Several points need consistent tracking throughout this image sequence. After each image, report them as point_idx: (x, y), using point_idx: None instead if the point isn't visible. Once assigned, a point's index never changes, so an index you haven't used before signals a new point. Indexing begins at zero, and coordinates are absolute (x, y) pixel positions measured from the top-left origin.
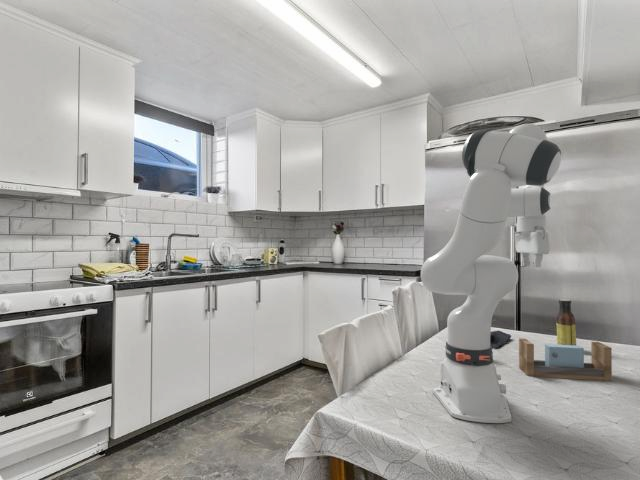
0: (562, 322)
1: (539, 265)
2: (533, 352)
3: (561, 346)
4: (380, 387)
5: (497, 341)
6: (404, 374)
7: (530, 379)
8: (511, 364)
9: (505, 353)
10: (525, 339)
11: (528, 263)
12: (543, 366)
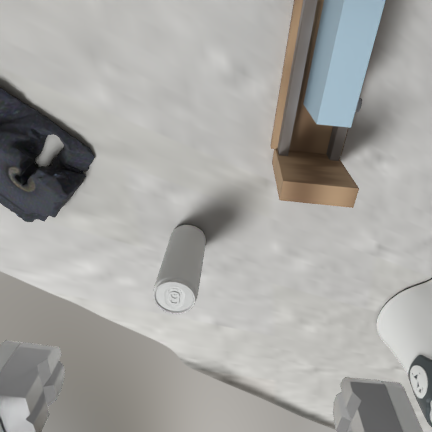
0: None
1: (405, 408)
2: (351, 178)
3: (351, 77)
4: None
5: (35, 133)
6: (311, 379)
7: (358, 172)
8: (243, 169)
9: (136, 142)
10: (295, 186)
11: (44, 371)
12: (343, 134)
